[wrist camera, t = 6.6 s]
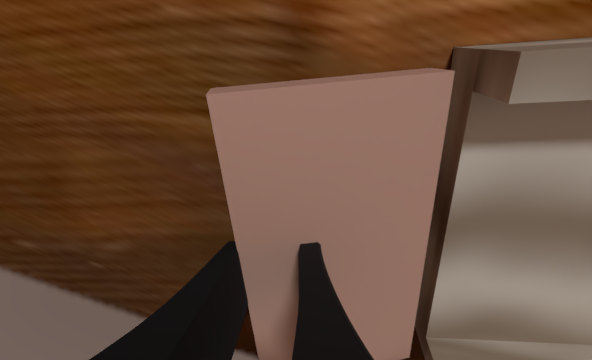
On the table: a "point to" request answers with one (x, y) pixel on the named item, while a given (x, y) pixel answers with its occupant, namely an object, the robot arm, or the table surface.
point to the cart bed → (513, 208)
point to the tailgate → (334, 195)
